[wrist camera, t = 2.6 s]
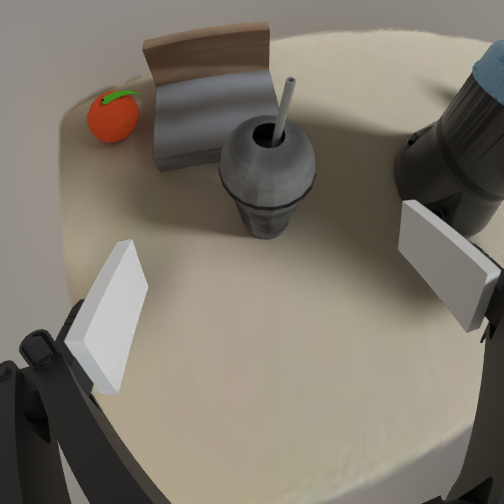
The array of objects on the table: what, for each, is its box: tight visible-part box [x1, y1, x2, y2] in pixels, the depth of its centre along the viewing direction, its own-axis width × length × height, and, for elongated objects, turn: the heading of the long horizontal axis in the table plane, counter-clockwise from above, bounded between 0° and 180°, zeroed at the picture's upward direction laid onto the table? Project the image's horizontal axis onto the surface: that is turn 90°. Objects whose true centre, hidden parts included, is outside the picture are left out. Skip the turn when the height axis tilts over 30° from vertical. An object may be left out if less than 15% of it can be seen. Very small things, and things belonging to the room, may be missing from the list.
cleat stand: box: [142, 22, 279, 172], centre depth 33 cm, size 14×15×10 cm
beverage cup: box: [219, 77, 316, 239], centre depth 24 cm, size 7×7×20 cm
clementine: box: [88, 91, 143, 142], centre depth 34 cm, size 8×7×7 cm
